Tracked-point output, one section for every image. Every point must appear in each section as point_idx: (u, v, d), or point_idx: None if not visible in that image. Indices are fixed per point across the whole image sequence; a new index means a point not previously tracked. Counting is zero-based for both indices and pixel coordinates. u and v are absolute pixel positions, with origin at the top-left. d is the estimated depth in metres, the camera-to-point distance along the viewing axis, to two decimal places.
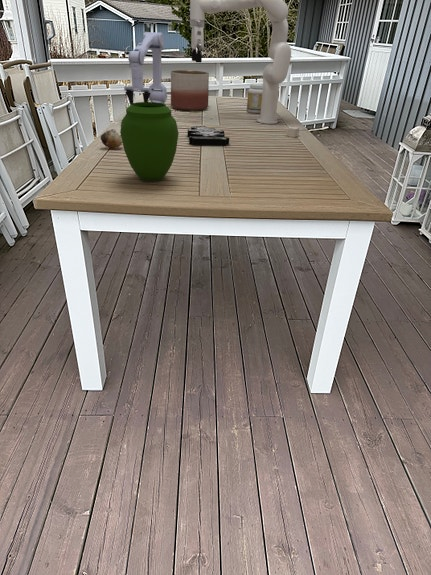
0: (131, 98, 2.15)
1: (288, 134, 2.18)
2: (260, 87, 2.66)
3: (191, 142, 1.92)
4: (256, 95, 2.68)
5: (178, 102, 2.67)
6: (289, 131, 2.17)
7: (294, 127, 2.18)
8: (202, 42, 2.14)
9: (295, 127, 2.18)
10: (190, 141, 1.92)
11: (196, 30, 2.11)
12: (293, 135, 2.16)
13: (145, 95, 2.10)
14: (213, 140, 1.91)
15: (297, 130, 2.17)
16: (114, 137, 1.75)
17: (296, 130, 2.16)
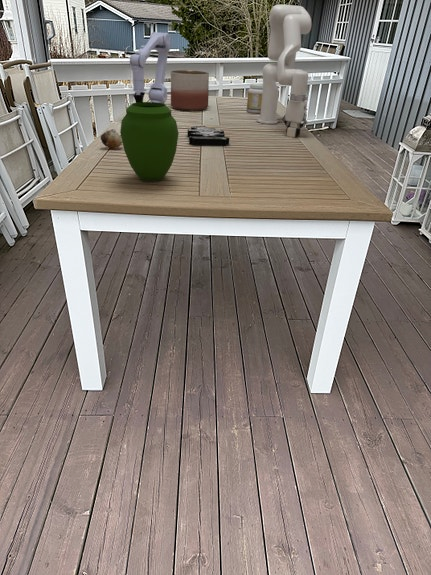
0: None
1: (288, 134, 2.18)
2: (260, 87, 2.66)
3: (191, 142, 1.92)
4: (256, 95, 2.68)
5: (178, 102, 2.67)
6: (289, 131, 2.17)
7: (294, 127, 2.18)
8: (305, 115, 2.13)
9: (295, 127, 2.18)
10: (190, 141, 1.92)
11: (303, 105, 2.08)
12: (293, 135, 2.16)
13: None
14: (213, 140, 1.91)
15: None
16: (114, 137, 1.75)
17: None
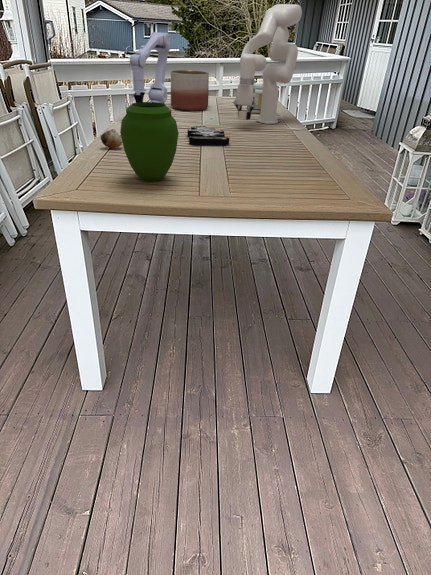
0: None
1: (239, 117, 2.24)
2: (260, 87, 2.66)
3: (191, 142, 1.92)
4: (256, 95, 2.68)
5: (178, 102, 2.67)
6: (240, 114, 2.23)
7: (245, 111, 2.24)
8: (255, 99, 2.19)
9: (246, 111, 2.24)
10: (190, 141, 1.92)
11: (252, 88, 2.14)
12: (244, 118, 2.23)
13: None
14: (213, 140, 1.91)
15: None
16: (114, 137, 1.75)
17: None
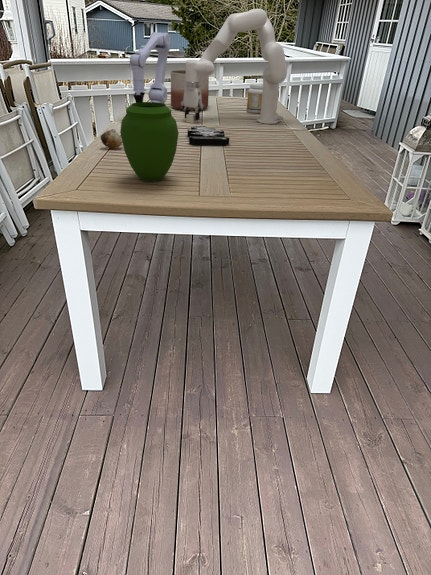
0: None
1: (187, 120, 2.37)
2: (260, 87, 2.66)
3: (191, 142, 1.92)
4: (256, 95, 2.68)
5: (178, 102, 2.67)
6: (188, 118, 2.36)
7: (193, 114, 2.37)
8: (201, 101, 2.31)
9: (194, 114, 2.37)
10: (190, 141, 1.92)
11: (197, 91, 2.27)
12: (191, 121, 2.36)
13: None
14: (213, 140, 1.91)
15: None
16: (114, 137, 1.75)
17: (194, 117, 2.35)
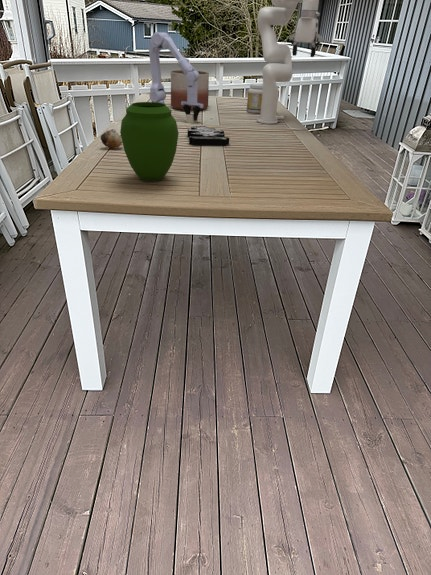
0: None
1: (187, 120, 2.37)
2: (260, 87, 2.66)
3: (191, 142, 1.92)
4: (256, 95, 2.68)
5: (178, 102, 2.67)
6: (187, 118, 2.36)
7: (193, 114, 2.37)
8: None
9: None
10: (190, 141, 1.92)
11: (315, 22, 1.94)
12: (191, 121, 2.36)
13: None
14: (213, 140, 1.91)
15: None
16: (114, 137, 1.75)
17: None
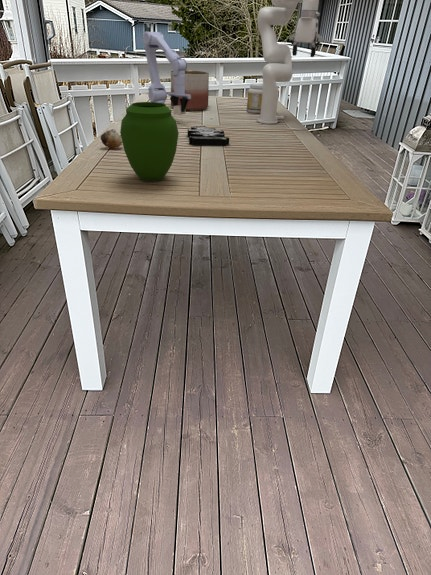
0: None
1: (174, 112, 2.29)
2: (260, 87, 2.66)
3: (191, 142, 1.92)
4: (256, 95, 2.68)
5: (178, 102, 2.67)
6: (175, 109, 2.28)
7: (180, 105, 2.29)
8: None
9: None
10: (190, 141, 1.92)
11: (315, 22, 1.94)
12: (179, 113, 2.27)
13: None
14: (213, 140, 1.91)
15: None
16: (114, 137, 1.75)
17: None
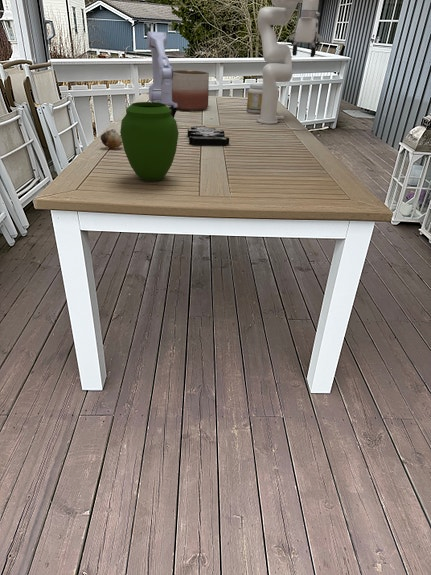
0: None
1: None
2: (260, 87, 2.66)
3: (191, 142, 1.92)
4: (256, 95, 2.68)
5: (178, 102, 2.67)
6: None
7: None
8: None
9: None
10: (190, 141, 1.92)
11: (315, 22, 1.94)
12: None
13: None
14: (213, 140, 1.91)
15: None
16: (114, 137, 1.75)
17: None
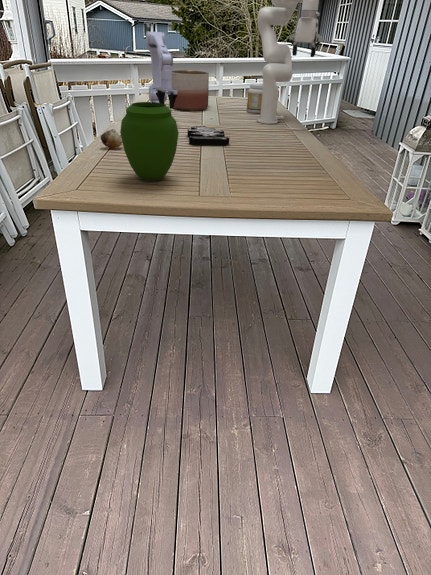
0: None
1: None
2: (260, 87, 2.66)
3: (191, 142, 1.92)
4: (256, 95, 2.68)
5: (178, 102, 2.67)
6: None
7: None
8: None
9: None
10: (190, 141, 1.92)
11: (315, 22, 1.94)
12: None
13: None
14: (213, 140, 1.91)
15: None
16: (114, 137, 1.75)
17: None
